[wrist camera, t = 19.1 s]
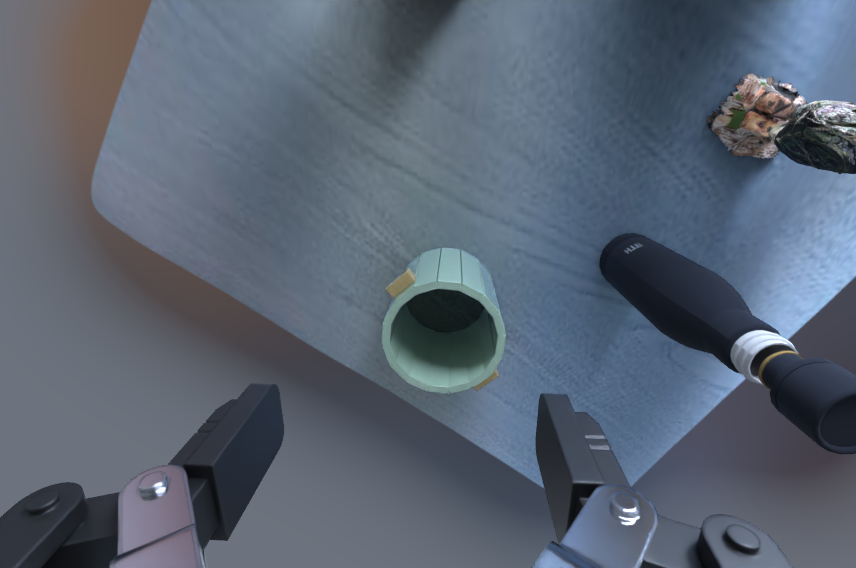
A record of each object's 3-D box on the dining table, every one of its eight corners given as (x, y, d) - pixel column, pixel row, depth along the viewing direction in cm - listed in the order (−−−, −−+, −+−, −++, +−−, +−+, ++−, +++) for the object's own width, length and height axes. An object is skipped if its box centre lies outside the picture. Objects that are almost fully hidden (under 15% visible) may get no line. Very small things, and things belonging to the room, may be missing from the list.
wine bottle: (637, 295, 51) (864, 493, 23) (588, 273, 50) (759, 448, 22) (668, 246, 49) (961, 397, 20) (618, 224, 48) (846, 345, 20)
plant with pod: (760, 192, 46) (969, 230, 28) (693, 117, 44) (870, 101, 26) (830, 133, 44) (1110, 130, 25) (763, 51, 42) (1013, -20, 23)
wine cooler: (446, 219, 49) (443, 245, 38) (519, 308, 52) (538, 358, 41) (372, 280, 52) (348, 321, 41) (445, 361, 55) (442, 421, 43)
